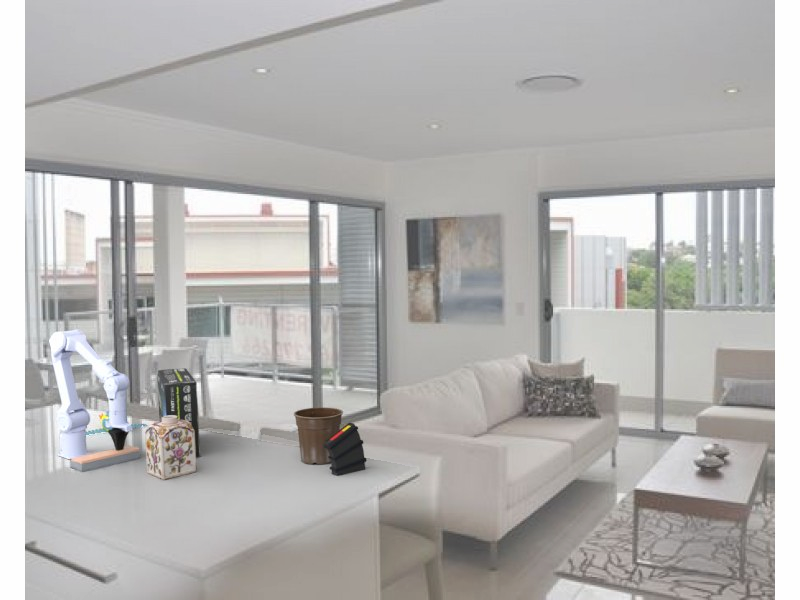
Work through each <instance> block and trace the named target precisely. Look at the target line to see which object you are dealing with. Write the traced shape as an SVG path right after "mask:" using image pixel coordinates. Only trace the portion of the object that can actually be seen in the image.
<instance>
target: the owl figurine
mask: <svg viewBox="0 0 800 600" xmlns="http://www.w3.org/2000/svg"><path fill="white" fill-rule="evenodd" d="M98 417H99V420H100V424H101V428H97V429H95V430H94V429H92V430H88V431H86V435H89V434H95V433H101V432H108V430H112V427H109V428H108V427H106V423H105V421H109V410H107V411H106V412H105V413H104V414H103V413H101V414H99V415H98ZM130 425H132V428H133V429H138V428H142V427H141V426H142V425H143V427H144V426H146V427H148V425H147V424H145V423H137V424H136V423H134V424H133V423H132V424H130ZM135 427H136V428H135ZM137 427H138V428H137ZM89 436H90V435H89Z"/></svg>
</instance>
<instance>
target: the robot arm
mask: <svg viewBox="0 0 800 600" xmlns="http://www.w3.org/2000/svg"><path fill="white" fill-rule="evenodd" d="M48 341H49V345H50V350H51V354H50V356H51V357H50V358H51V361H52V365H53V371H54V375H55V380H56V384H57V389H58V392H59V397H60V401H61V406H60V407H59V409H58V410H57V412H56V415H57V418H56V419H57V420H56V421H57V422H56V424H57V428H58V430H60V432H61V433H60V434H59V453H57V454H56V455H57V456H59V457H61V458H64V459H67V460H72V459H71V458H75V457H80V456H84V455H89V454H92V453H91V452H89V451H88V450H87V436H86V429H88V425H89V424H90V422H91V415H90V413H89V412H88V410H87V406H86V405H85V404H84V403H82V402H80V398H79V396H78V391H77V390H78V389H77V386H76V381H75V378H74V377H75V376H74V373H73V369H72V365H71V359H70V358H71V356H72V355H73V354H74V353H76V352H77V353H78V354H79V355H80V356H81V357H82V358H84V360H86V361H87V362H88V363H89V364H90V365H91V366H92V367H91V368H92V369H91V370H92V372H93V373H94V375H95V376H96V377H97V378H98V379H99V380H100V381H101V382H102V383H103V389H104V391H105V393H106V397H107V399H108V411H109V421H105V423H106V427H108V428H109V427H112V430H108V434H109V436H110V437H111V440H112V443H113V445H114V449H116V450H117V451H119V450H123V448H124V447H125V443H126V439H127V437H128V434H129V432H132V431H133V429H132V425H131V424H130V423H129V422H128V406H127V404H128V403H127V390H128V389H129V387H130V380H129V378H128V376H127V375H126V374H125V373H120V372H119V371H118V370H116V369H115V367H114V366H113V365H111V362H110V361H109V360H107V359H105V358H104V359H102V358H101V357H100V356H99V355H98V354H97V353H96V351H95V350H94V348H93V347H92V346H91V345H90V344H89V342H88V341H87V335H85V334H84V333H83V331H82V330H80V329H73V330H72V329H71V330H66V331H65V330H64V331H63V330H62V331H55V332H54V333H52V334H51V336H50V338H49V340H48Z"/></svg>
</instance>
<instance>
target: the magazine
mask: <svg viewBox="0 0 800 600" xmlns="http://www.w3.org/2000/svg"><path fill="white" fill-rule="evenodd" d="M324 444H325V445H324V448H327V450H328V452H329V455H330V456H328V458H329V459H331V463H330V465H331V466H329V470H331V475H333V476H342V475H346V474H350V473H355V472H359V471H364V470H366V462H367V458H366V457H365V451H364V446H363V444H364V440H363V439H361V436H360V433H359V427H358V426H356V424H355V423H353V422H348V423H346V424H345V425H344V426H342V428H341V427H340V430H339V431H337V432H336V433H335V434H333V435H332V436H331V437H329V438H328V439H327V440H325V441H324Z"/></svg>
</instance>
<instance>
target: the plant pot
mask: <svg viewBox="0 0 800 600" xmlns="http://www.w3.org/2000/svg"><path fill="white" fill-rule="evenodd" d="M343 414H344V411H343V410H342V409H340V408H337V407H321V406H320V407H308V408H307V407H306V408H301V409H298V410H296V411H294V412H293V415H294V418H295V424H296V426H297V434H298V443H299V453H300V460H301V462H302V463H304V464H308V465H314V464H317V465H328V464H331V459H329V458H328V456H330V455H329V452H328V450H327V448H324V445H325V444H324V441H325V440H327V439H328V438H329V437H331V436H332V435H333V434H335V433H336V432H337V431H339V430H340V429H341V424H342V417H343Z"/></svg>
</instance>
